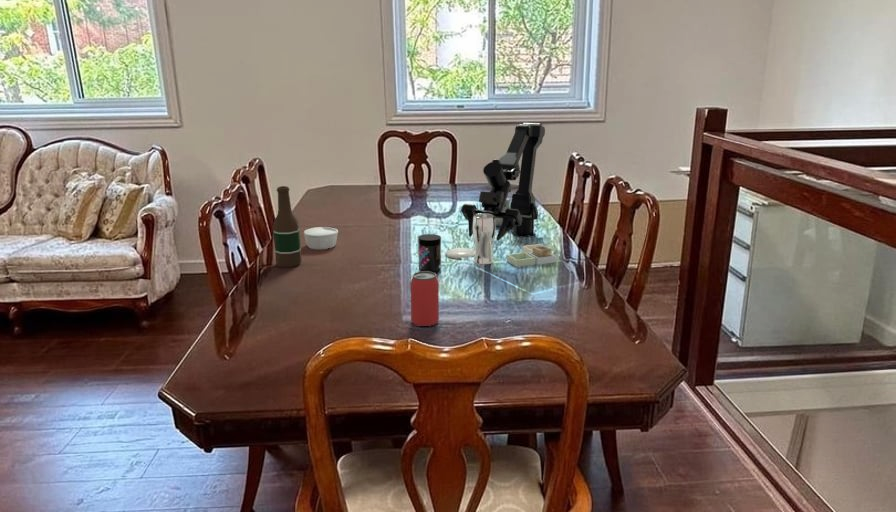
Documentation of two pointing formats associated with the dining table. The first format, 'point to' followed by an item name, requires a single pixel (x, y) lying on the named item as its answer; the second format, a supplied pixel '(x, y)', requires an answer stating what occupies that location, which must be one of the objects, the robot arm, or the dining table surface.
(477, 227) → the beer glass
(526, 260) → the sage dish
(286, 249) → the beer bottle
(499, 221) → the air freshener
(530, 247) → the cream dish
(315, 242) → the ramekin
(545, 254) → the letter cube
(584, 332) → the dining table surface
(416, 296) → the beer can
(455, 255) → the stone coaster
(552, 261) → the pale blue dish
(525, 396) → the dining table surface
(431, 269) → the supplement container
